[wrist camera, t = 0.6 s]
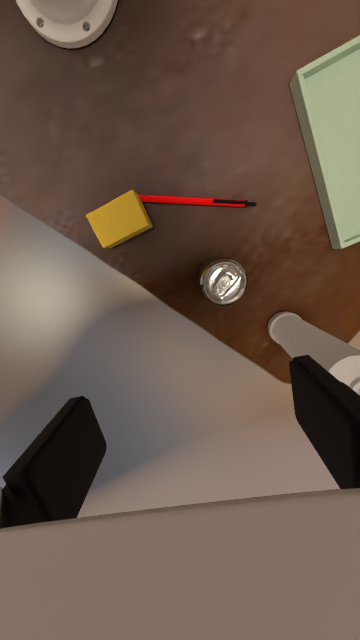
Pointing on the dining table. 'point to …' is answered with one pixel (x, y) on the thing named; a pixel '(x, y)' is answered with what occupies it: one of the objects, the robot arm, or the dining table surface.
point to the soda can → (222, 280)
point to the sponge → (120, 220)
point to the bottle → (317, 347)
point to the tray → (333, 136)
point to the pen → (196, 201)
